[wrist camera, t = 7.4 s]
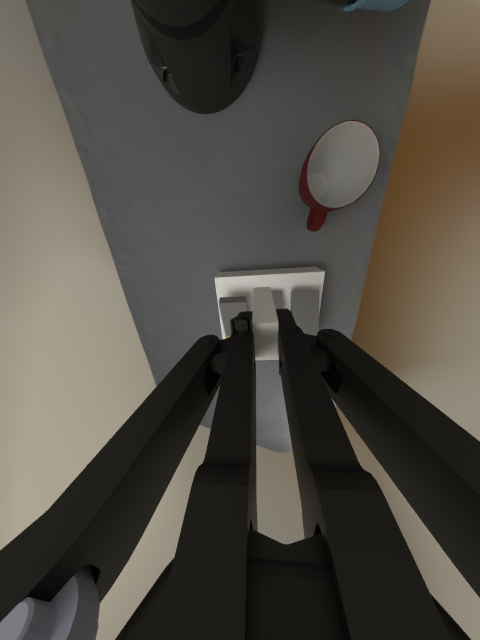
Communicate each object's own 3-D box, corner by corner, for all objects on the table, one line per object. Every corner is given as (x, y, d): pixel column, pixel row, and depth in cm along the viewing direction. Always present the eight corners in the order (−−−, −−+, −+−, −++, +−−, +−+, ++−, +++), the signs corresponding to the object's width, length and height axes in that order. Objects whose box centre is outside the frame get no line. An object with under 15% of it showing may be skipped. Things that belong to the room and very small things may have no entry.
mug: (332, 231, 32) (362, 230, 23) (286, 231, 33) (298, 231, 24) (347, 154, 28) (391, 117, 19) (293, 156, 28) (311, 121, 19)
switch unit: (219, 272, 37) (212, 280, 31) (315, 266, 35) (329, 273, 29) (226, 336, 43) (222, 354, 37) (308, 334, 42) (318, 352, 36)
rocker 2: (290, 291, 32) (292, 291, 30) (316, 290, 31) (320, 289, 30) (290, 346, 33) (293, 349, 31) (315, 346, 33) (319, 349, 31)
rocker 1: (219, 297, 30) (218, 304, 29) (246, 296, 30) (246, 303, 28) (227, 337, 37) (227, 344, 35) (249, 336, 36) (249, 344, 35)
